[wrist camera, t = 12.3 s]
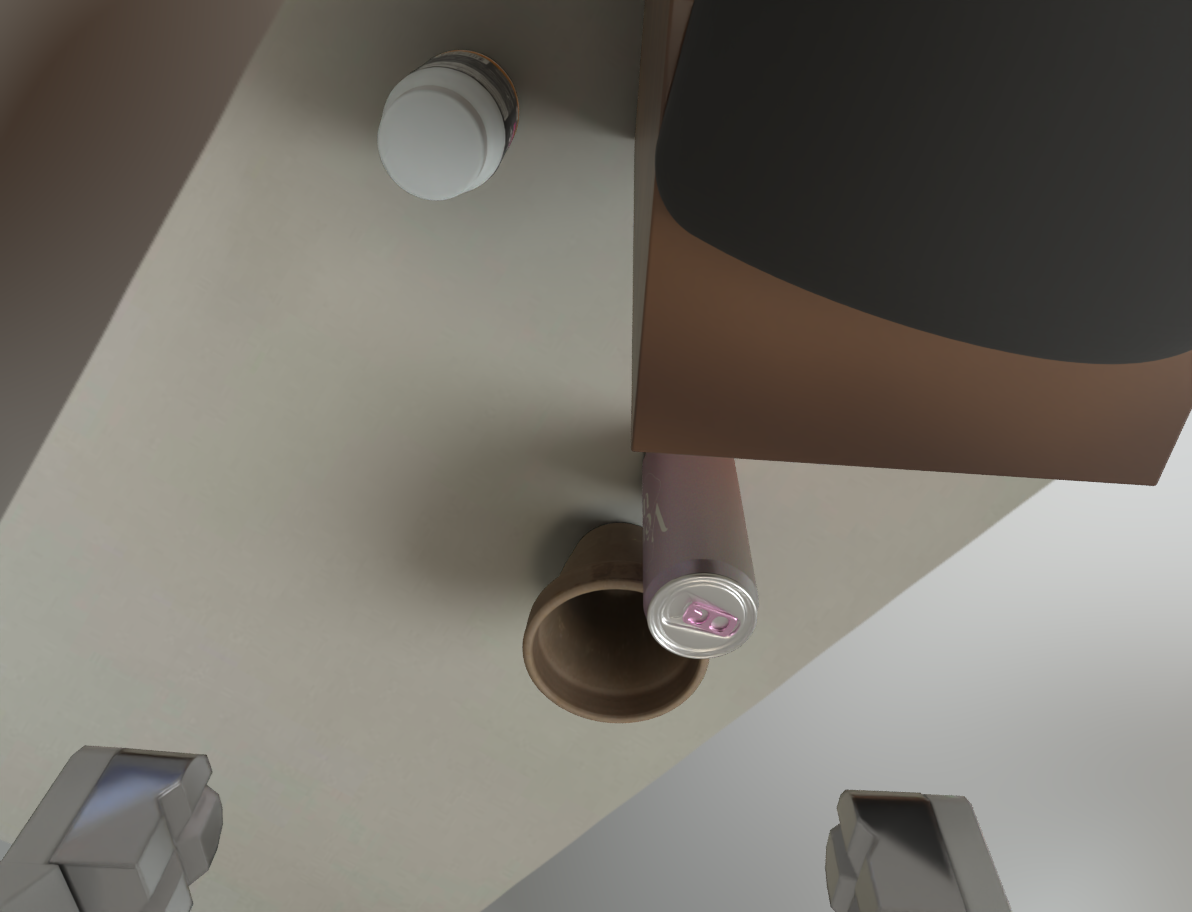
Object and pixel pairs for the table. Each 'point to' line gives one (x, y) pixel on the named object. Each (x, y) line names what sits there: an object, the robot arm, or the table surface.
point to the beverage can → (696, 556)
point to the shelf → (854, 361)
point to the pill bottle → (448, 125)
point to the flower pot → (604, 636)
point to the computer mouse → (949, 163)
